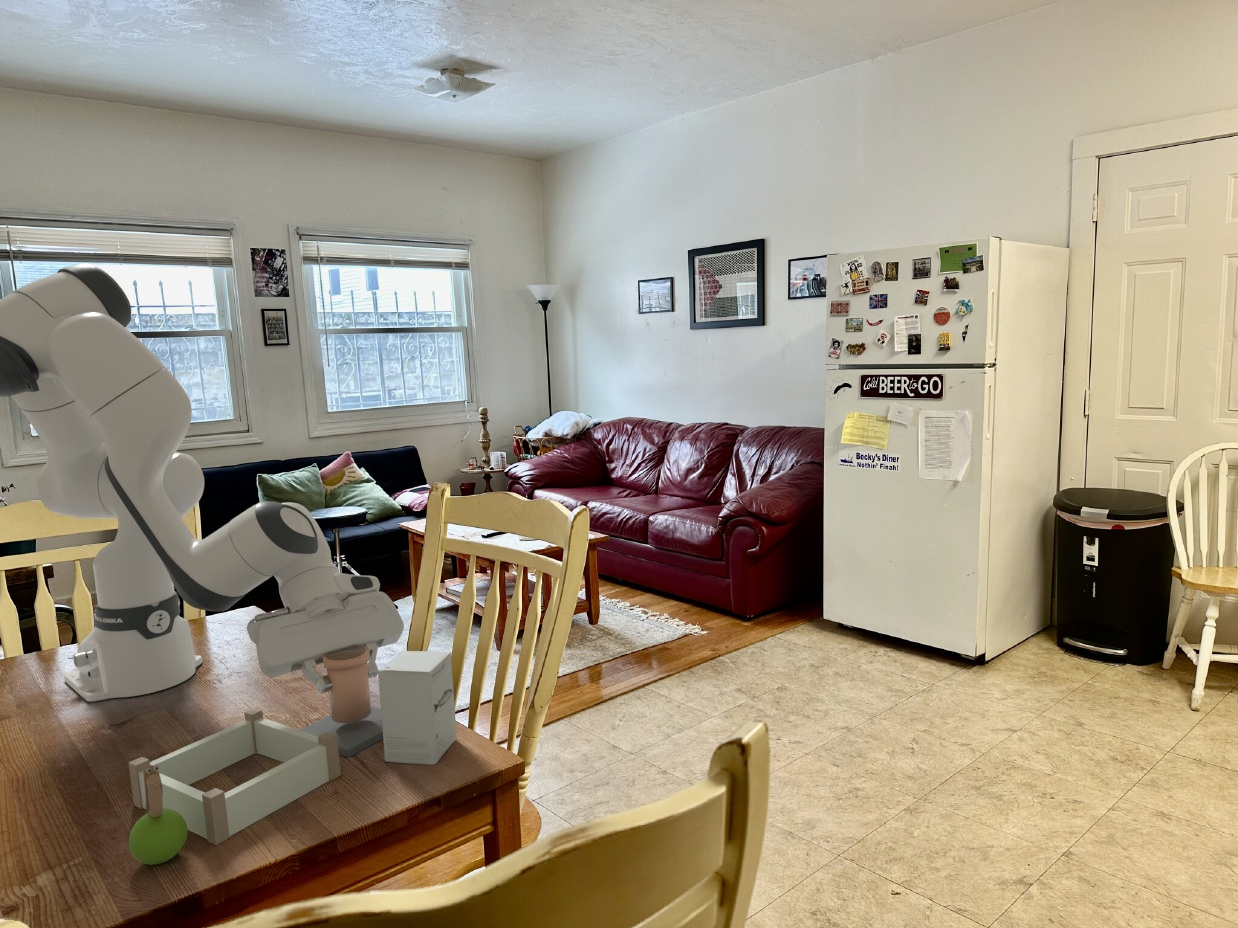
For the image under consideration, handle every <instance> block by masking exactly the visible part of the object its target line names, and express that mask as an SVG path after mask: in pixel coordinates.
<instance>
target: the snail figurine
mask: <svg viewBox="0 0 1238 928" xmlns="http://www.w3.org/2000/svg"><path fill="white" fill-rule="evenodd" d="M158 769H159V766H157V765H156V766H153V765H149V766H147V767H146V768H145V769H144V771H143V776H144V785H145V795H146V806H145V808H146V809H145V811H146V813H145V814H143V815H142V816H141V817H140V818H138V820H136V822H135V823H134V825H133V827H132V829H131V831H130V832H129V838H128V848H129V851H130V854H131V855H132V856H133V858H135V859H136V861H138V862H140V863H142V864H146V865H159V864H163V863H166V862H167V861H169V860H172V858H174V857H176V855H177V854H178V853H179V852H180V851H181V850H182V848H183V847H184V845H185V842H186V840H187V836H188V830H187V825H186V822H185V820H184V818H183V817H182V816H181V815H180V814H179V813H178V812H176V811H174V810H171V809H163V788H162V782H161V778H160V774H159V772H158V771H157V770H158Z"/></svg>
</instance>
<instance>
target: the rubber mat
mask: <svg viewBox="0 0 1238 928" xmlns="http://www.w3.org/2000/svg"><path fill="white" fill-rule="evenodd" d="M371 710H372V712H371V714H370V715H369V716H368V717H366V718H364V719H362V720H359V721H356V722H351V723H338V722H334V721H333V720H332V718H331V714H330V715H327V716H326V717H323V718H322V719H320V720H317V721H315V722H312V724H309V725H307V726H305V727H303V728H301V729H299V730H300V731H303V732H306V733H310V734H313V735H316V736H320V735H322V734H324V733H326V732H328V731H329V732H332V733H335V734H337V741H338V752H339V756H344V757H347V758H350V757H351V756H353V755H355V754H357V753H359V752H360V751H362V750H364V749H366V748H369V747H370V746H371V745H373V744H375V743H377V742H379V741H381V740H383V729H382V716H381V708H379V707H375V706H372V705H371Z"/></svg>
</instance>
